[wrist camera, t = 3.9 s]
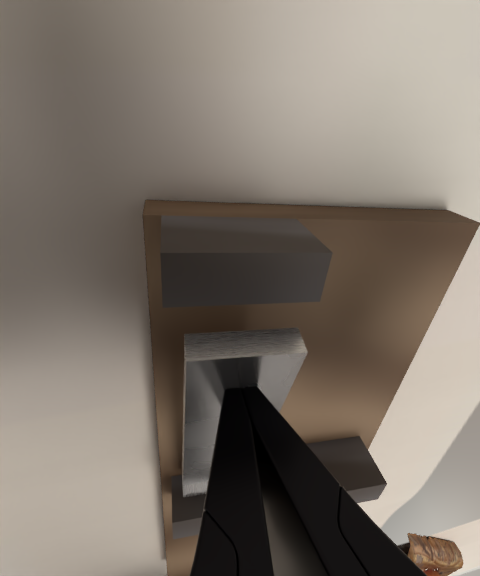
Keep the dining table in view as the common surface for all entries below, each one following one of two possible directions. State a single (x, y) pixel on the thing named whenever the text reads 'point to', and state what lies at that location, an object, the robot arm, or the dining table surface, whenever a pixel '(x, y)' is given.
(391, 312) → the walnut board
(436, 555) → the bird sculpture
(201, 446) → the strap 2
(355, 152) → the dining table surface
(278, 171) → the dining table surface
